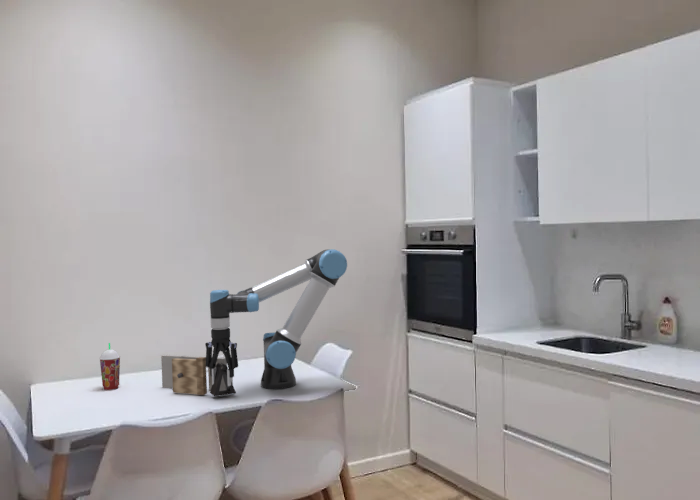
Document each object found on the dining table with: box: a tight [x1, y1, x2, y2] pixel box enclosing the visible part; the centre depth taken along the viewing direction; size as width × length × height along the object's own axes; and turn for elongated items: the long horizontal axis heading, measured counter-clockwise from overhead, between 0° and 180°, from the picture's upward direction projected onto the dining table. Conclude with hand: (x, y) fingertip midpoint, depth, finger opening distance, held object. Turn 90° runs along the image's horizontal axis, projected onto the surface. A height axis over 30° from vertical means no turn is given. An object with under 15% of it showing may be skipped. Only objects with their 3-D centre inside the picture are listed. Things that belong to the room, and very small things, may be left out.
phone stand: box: [209, 363, 237, 397], centre depth 253 cm, size 9×6×12 cm, turn 119°
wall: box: [160, 354, 228, 392], centre depth 267 cm, size 32×2×14 cm, turn 68°
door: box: [172, 356, 208, 396], centre depth 258 cm, size 16×3×15 cm, turn 69°
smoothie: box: [99, 342, 121, 391], centre depth 274 cm, size 8×8×20 cm
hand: (222, 384), depth 253 cm, fingers closed on phone stand, 6 cm apart
